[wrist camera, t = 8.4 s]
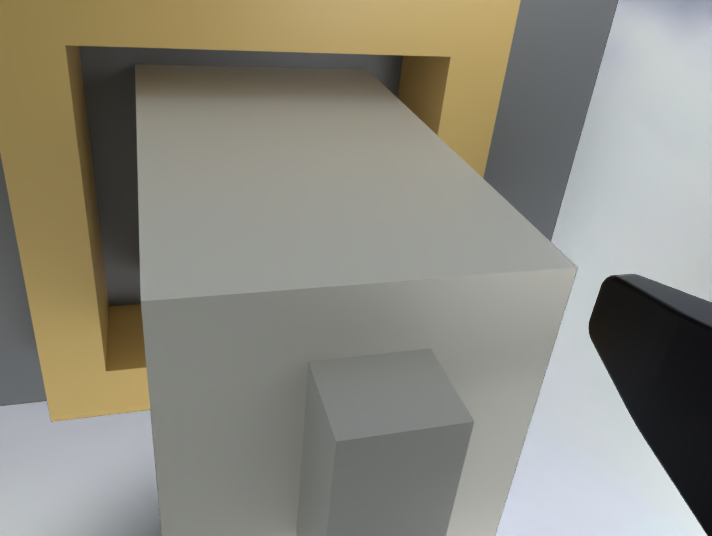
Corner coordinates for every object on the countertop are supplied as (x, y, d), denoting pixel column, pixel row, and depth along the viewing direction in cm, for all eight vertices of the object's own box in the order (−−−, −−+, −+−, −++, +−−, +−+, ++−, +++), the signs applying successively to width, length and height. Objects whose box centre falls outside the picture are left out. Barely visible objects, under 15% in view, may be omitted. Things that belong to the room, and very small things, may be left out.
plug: (366, 69, 12) (642, 328, 6) (347, 258, 14) (533, 610, 8) (135, 64, 11) (142, 383, 4) (151, 271, 13) (172, 699, 6)
